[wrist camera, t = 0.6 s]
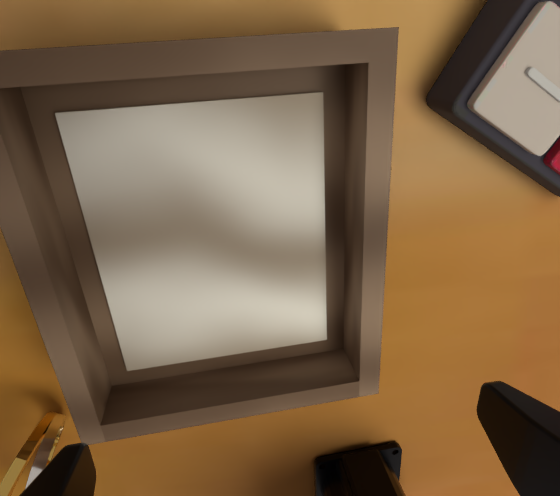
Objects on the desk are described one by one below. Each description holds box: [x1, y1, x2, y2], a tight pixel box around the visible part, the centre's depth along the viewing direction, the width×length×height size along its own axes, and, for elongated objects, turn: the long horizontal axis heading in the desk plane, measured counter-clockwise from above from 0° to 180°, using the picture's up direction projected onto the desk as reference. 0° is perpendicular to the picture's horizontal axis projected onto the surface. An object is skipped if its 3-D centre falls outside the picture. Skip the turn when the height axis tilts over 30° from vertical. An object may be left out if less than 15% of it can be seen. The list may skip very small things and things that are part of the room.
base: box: [0, 27, 399, 445], centre depth 18 cm, size 16×14×6 cm
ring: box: [0, 412, 66, 496], centre depth 21 cm, size 7×3×8 cm, turn 154°
